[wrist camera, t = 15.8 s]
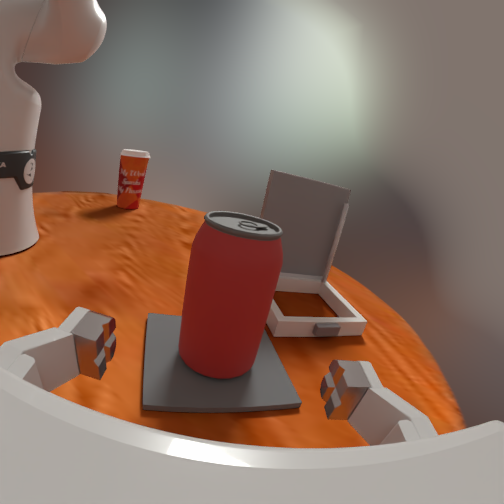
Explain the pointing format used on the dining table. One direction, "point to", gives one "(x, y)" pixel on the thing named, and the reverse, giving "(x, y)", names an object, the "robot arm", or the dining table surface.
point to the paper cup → (131, 178)
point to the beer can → (229, 293)
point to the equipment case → (308, 252)
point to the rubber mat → (205, 388)
